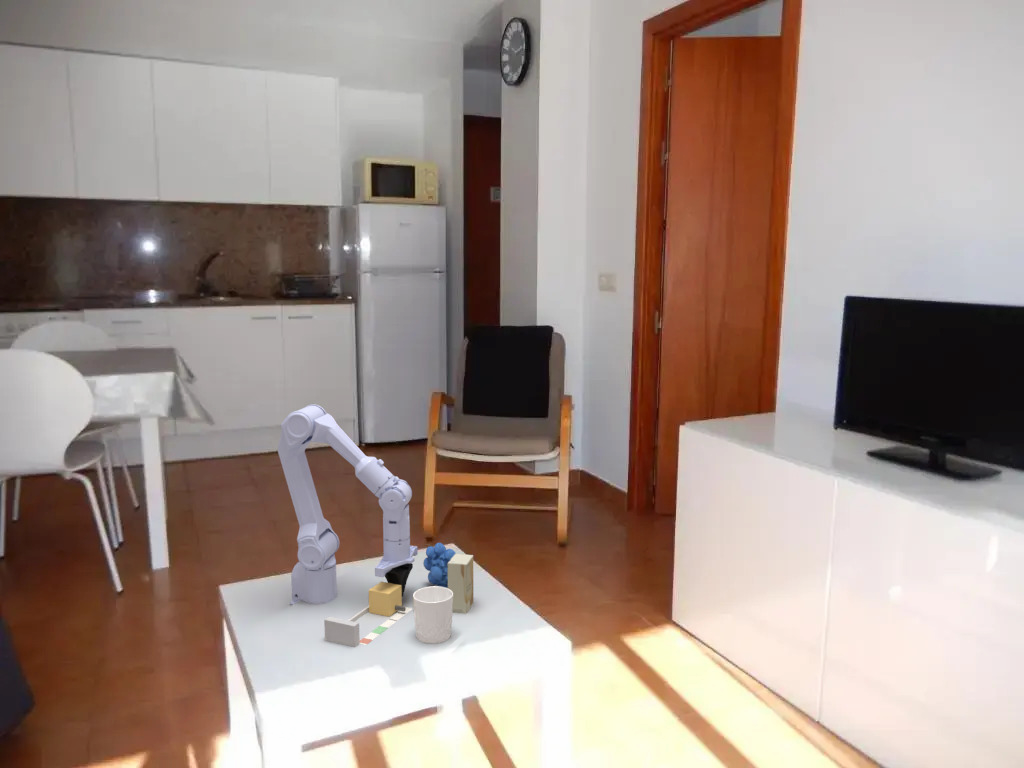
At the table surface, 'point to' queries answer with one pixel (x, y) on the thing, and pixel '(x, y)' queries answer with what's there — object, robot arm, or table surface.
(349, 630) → the gauge track
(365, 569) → the table surface
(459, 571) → the skincare box
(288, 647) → the table surface
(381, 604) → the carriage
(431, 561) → the grapes
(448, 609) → the white cup
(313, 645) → the table surface
